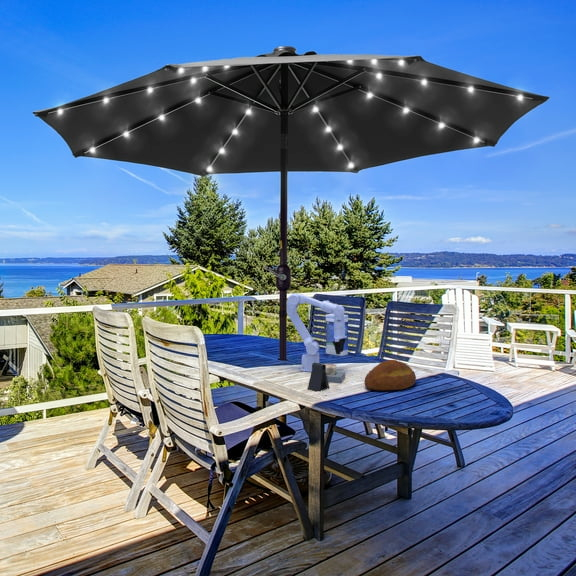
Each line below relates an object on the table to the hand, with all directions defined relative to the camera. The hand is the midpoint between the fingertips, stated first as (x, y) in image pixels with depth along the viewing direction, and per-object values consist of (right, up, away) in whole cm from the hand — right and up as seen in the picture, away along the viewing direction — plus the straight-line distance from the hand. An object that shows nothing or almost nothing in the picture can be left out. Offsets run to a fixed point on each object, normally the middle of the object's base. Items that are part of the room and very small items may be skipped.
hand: (339, 352), depth 253 cm
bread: (+22, -12, -27) cm, 37 cm away
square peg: (-6, -11, -16) cm, 21 cm away
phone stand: (-14, -12, -34) cm, 39 cm away
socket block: (-7, -11, -16) cm, 21 cm away
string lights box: (+4, -8, +50) cm, 51 cm away
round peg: (-6, -11, -5) cm, 13 cm away
